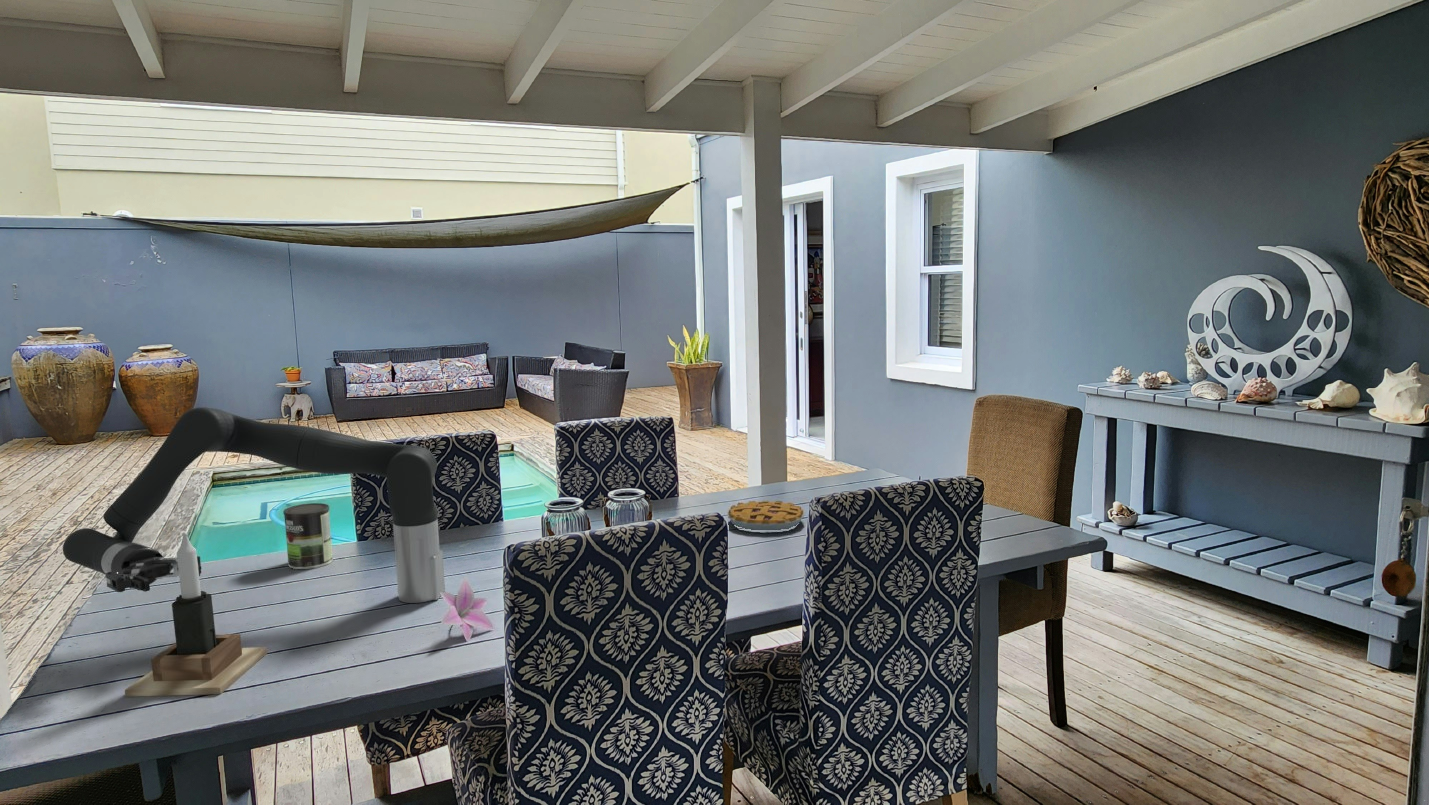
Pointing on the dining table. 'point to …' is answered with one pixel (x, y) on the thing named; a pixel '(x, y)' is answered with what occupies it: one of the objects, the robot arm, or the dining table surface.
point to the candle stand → (197, 669)
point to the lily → (466, 610)
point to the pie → (765, 515)
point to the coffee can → (308, 536)
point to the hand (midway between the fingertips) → (173, 578)
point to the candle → (192, 607)
